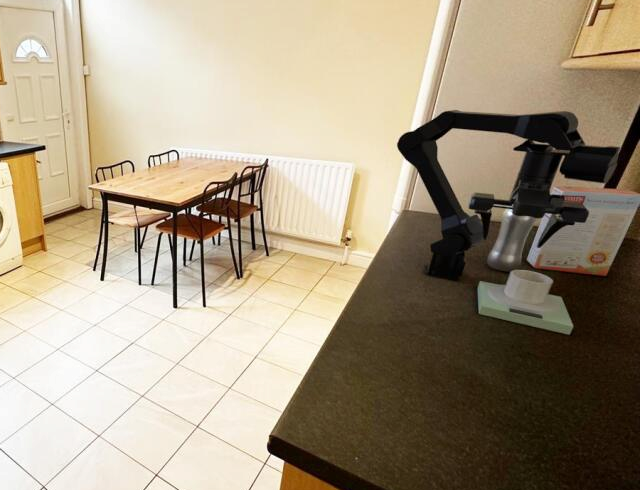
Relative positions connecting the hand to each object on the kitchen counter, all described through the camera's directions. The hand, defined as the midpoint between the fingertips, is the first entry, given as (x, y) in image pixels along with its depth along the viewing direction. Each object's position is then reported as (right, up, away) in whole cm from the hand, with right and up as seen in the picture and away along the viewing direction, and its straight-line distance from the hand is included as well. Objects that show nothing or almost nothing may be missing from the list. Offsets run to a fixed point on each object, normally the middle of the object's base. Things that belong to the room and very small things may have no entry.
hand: (510, 243), depth 93 cm
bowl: (-1, -12, -4) cm, 12 cm away
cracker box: (+27, -6, +14) cm, 31 cm away
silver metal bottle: (+11, -6, +15) cm, 19 cm away
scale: (-1, -15, -3) cm, 15 cm away
